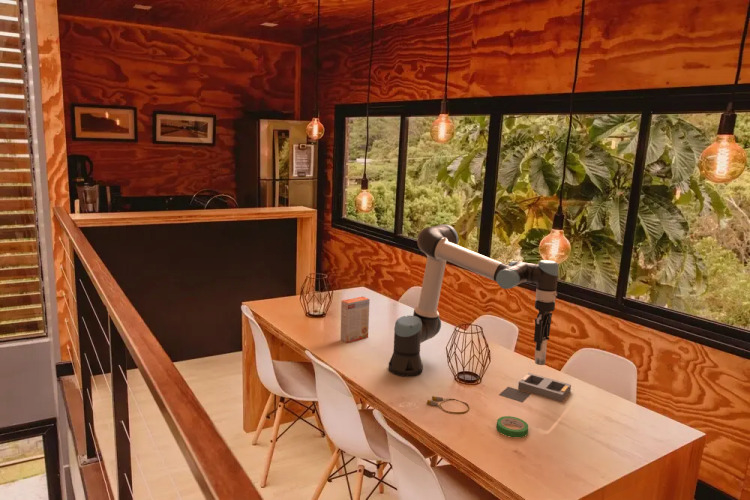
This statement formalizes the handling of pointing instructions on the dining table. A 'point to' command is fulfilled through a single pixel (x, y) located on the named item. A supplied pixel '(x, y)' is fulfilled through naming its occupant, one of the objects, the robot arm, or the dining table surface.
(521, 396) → the plate
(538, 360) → the plug
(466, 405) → the looped connector cable
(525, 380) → the socket block
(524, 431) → the tape roll
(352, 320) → the cracker box
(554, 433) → the dining table surface
